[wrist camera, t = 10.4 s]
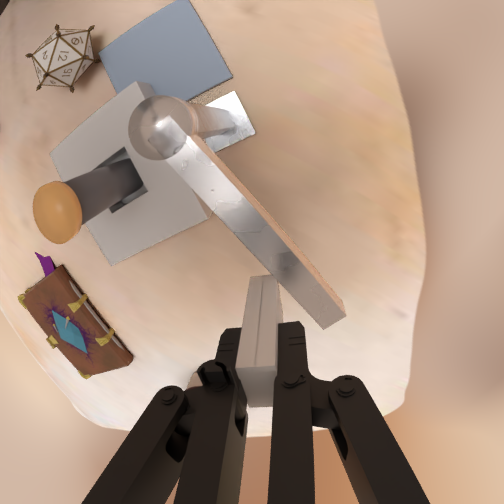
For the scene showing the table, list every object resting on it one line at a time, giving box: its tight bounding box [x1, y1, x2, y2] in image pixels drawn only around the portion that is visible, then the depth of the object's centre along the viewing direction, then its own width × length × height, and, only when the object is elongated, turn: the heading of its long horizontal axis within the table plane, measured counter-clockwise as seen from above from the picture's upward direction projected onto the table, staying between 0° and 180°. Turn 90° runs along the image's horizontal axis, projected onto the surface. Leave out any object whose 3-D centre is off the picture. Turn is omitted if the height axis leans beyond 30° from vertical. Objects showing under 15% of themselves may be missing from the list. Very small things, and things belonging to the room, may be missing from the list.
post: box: [189, 91, 256, 153], centre depth 21 cm, size 5×5×16 cm
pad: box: [98, 0, 233, 101], centre depth 25 cm, size 12×12×1 cm
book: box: [18, 252, 133, 379], centre depth 41 cm, size 16×25×5 cm, turn 27°
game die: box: [25, 24, 101, 93], centre depth 21 cm, size 9×8×10 cm
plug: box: [33, 158, 144, 244], centre depth 24 cm, size 5×5×14 cm
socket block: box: [50, 81, 213, 266], centre depth 29 cm, size 16×14×4 cm
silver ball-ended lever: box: [128, 95, 346, 330], centre depth 14 cm, size 3×16×2 cm, turn 41°
